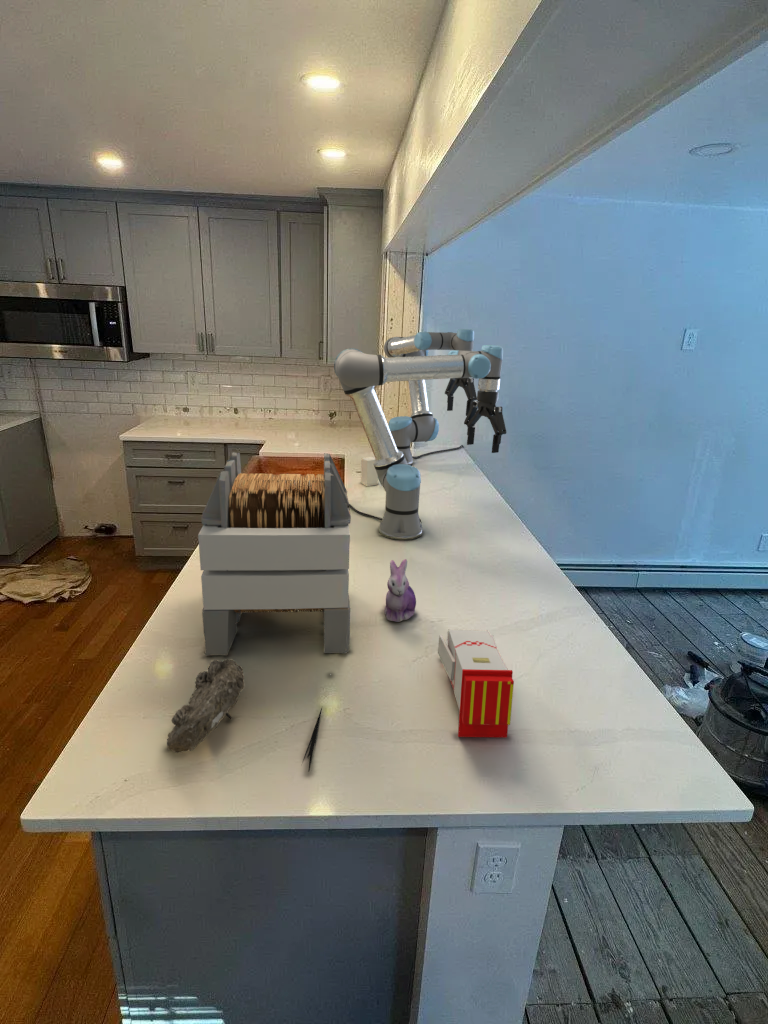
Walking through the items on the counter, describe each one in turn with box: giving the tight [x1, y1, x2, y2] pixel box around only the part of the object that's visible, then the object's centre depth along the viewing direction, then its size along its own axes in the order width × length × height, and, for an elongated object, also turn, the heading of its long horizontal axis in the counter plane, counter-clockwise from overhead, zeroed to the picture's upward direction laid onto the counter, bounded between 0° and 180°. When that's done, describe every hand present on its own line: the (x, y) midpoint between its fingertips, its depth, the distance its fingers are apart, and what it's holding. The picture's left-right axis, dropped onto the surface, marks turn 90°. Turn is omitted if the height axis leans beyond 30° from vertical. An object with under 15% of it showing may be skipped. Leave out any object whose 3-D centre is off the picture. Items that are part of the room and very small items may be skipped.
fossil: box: [166, 658, 245, 754], centre depth 106 cm, size 22×10×15 cm
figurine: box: [384, 558, 417, 623], centre depth 145 cm, size 9×10×15 cm
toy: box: [437, 628, 515, 738], centre depth 117 cm, size 12×13×30 cm
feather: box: [301, 673, 332, 771], centre depth 108 cm, size 2×28×2 cm
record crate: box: [197, 451, 352, 657], centre depth 136 cm, size 34×33×41 cm
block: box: [360, 456, 379, 487], centre depth 253 cm, size 6×5×12 cm
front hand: (482, 448), depth 210 cm, fingers open, 13 cm apart
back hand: (458, 413), depth 260 cm, fingers open, 13 cm apart
